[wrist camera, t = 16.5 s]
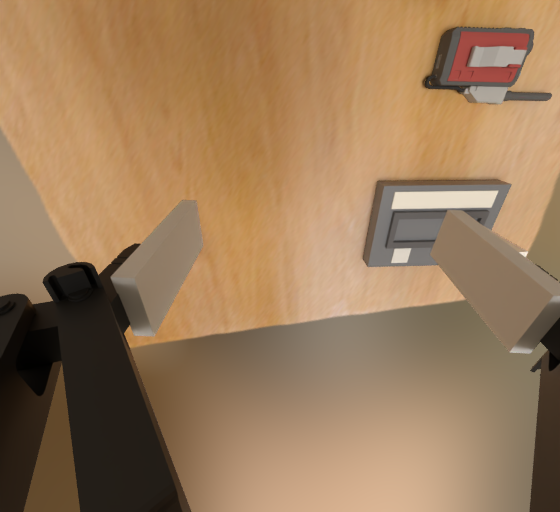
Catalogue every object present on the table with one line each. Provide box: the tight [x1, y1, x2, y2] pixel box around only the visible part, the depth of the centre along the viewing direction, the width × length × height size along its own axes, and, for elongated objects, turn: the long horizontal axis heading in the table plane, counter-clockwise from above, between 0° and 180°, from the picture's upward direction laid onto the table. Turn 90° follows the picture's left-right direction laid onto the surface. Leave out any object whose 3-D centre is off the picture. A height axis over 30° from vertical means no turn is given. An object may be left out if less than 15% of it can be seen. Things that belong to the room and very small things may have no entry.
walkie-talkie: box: [425, 27, 552, 104], centre depth 37 cm, size 9×4×20 cm
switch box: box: [363, 180, 512, 267], centre depth 49 cm, size 16×22×4 cm
